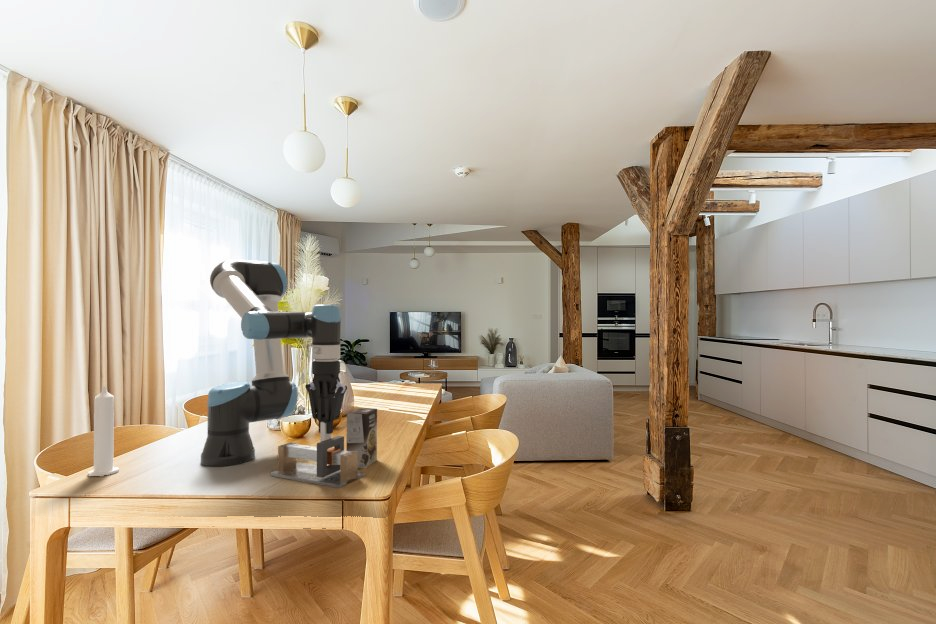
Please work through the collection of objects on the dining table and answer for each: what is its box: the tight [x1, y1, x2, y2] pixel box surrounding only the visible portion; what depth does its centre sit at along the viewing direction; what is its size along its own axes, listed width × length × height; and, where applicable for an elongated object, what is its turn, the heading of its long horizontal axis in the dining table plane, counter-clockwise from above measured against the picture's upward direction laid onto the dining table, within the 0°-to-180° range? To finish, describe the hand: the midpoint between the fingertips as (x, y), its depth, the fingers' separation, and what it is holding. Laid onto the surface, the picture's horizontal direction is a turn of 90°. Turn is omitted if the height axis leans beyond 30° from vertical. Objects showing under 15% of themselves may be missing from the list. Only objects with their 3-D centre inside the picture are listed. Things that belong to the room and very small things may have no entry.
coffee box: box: [345, 407, 378, 469], centre depth 148 cm, size 9×6×16 cm
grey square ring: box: [316, 435, 345, 478], centre depth 135 cm, size 2×9×9 cm, turn 156°
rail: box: [269, 441, 365, 489], centre depth 137 cm, size 24×11×8 cm, turn 66°
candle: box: [87, 384, 120, 477], centre depth 139 cm, size 7×7×25 cm
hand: (325, 444), depth 136 cm, fingers closed
